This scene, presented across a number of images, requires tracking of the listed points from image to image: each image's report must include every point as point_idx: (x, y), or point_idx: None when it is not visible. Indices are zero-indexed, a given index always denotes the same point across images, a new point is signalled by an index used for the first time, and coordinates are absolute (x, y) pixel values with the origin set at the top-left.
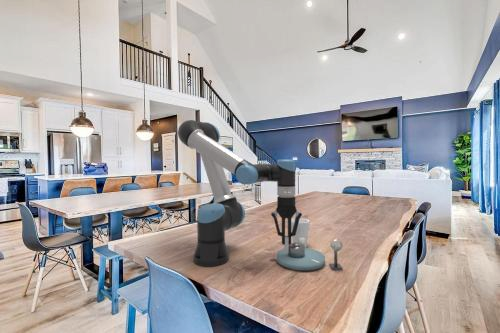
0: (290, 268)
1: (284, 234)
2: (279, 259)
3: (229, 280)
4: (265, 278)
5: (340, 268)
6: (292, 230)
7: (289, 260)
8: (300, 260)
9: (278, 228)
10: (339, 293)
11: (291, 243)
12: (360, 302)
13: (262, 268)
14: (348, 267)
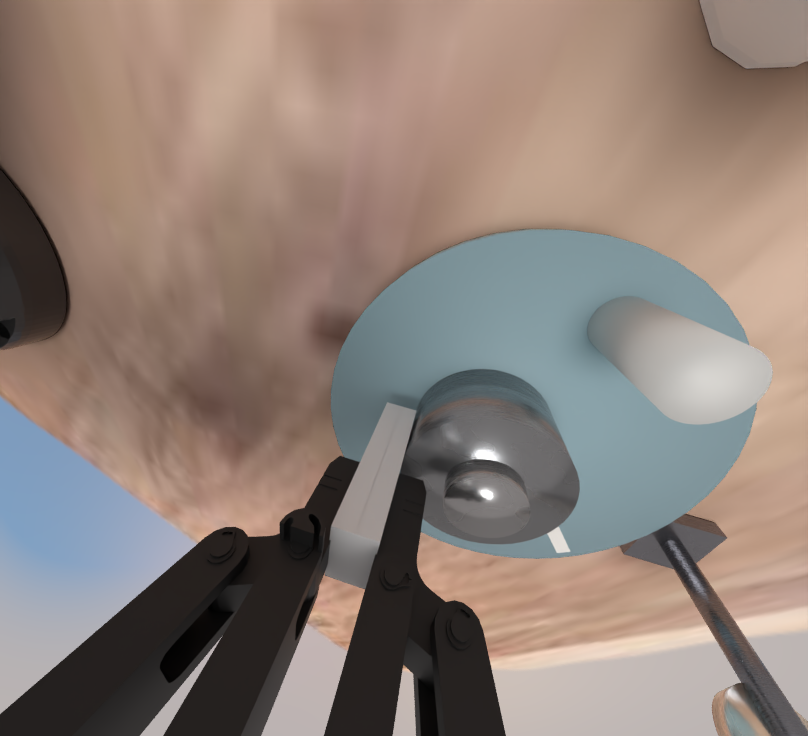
0: None
1: (299, 616)
2: (340, 444)
3: (154, 468)
4: (277, 495)
5: (670, 563)
6: (437, 686)
7: None
8: None
9: (136, 715)
10: (496, 630)
11: (464, 422)
12: (523, 665)
13: (265, 420)
14: (754, 549)
